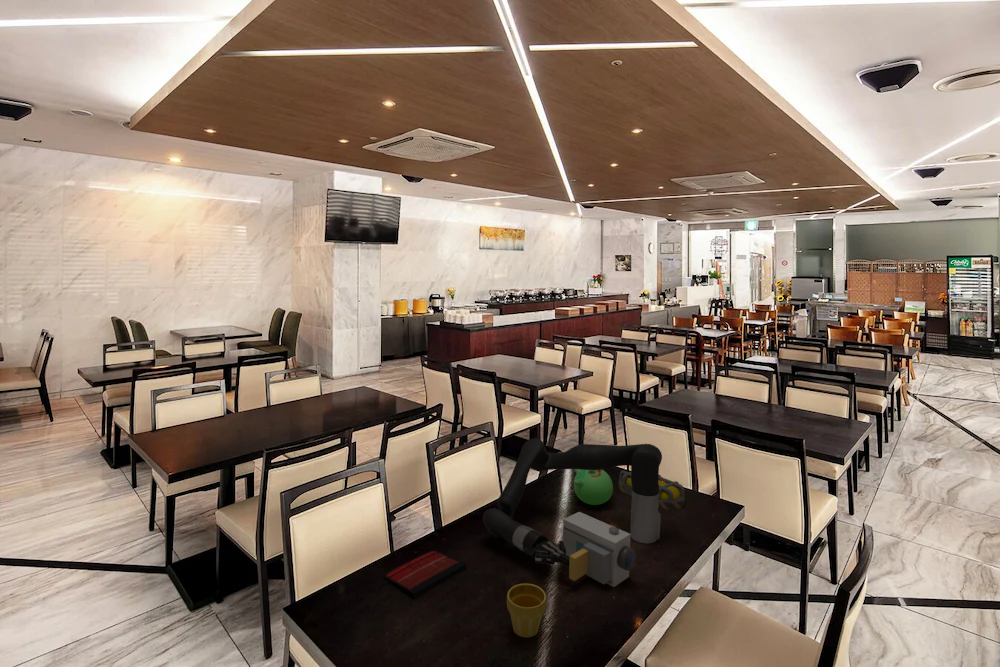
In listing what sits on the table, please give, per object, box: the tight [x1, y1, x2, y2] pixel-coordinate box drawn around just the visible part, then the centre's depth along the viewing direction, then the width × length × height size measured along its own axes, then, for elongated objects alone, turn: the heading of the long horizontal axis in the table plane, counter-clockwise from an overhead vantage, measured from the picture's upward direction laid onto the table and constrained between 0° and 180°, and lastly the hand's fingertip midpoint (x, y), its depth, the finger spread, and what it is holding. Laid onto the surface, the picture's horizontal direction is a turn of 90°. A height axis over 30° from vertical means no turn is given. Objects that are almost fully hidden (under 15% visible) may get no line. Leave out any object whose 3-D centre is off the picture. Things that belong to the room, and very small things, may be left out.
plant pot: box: [506, 583, 547, 638], centre depth 136 cm, size 10×10×10 cm
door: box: [568, 542, 611, 585], centre depth 154 cm, size 10×8×9 cm
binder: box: [384, 550, 467, 600], centre depth 162 cm, size 16×2×21 cm
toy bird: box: [573, 469, 614, 506], centre depth 211 cm, size 18×17×15 cm
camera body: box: [562, 511, 637, 588], centre depth 163 cm, size 9×23×15 cm, turn 43°
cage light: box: [618, 470, 686, 511], centre depth 218 cm, size 15×8×30 cm
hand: (571, 563), depth 155 cm, fingers closed
